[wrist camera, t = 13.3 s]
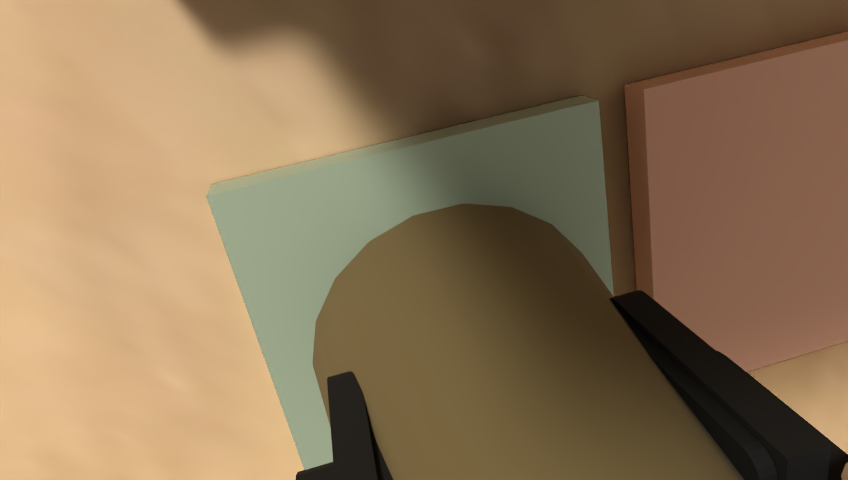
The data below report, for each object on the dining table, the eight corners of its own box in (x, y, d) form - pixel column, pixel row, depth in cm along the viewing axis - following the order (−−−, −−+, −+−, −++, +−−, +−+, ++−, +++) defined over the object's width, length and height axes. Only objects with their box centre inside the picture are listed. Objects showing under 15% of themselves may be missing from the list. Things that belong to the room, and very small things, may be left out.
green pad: (581, 95, 13) (598, 100, 12) (607, 391, 16) (622, 409, 15) (211, 183, 12) (205, 195, 11) (315, 479, 15) (316, 503, 14)
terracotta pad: (942, 8, 14) (978, 8, 13) (900, 303, 17) (927, 316, 16) (624, 85, 13) (643, 89, 12) (641, 381, 16) (658, 399, 15)
